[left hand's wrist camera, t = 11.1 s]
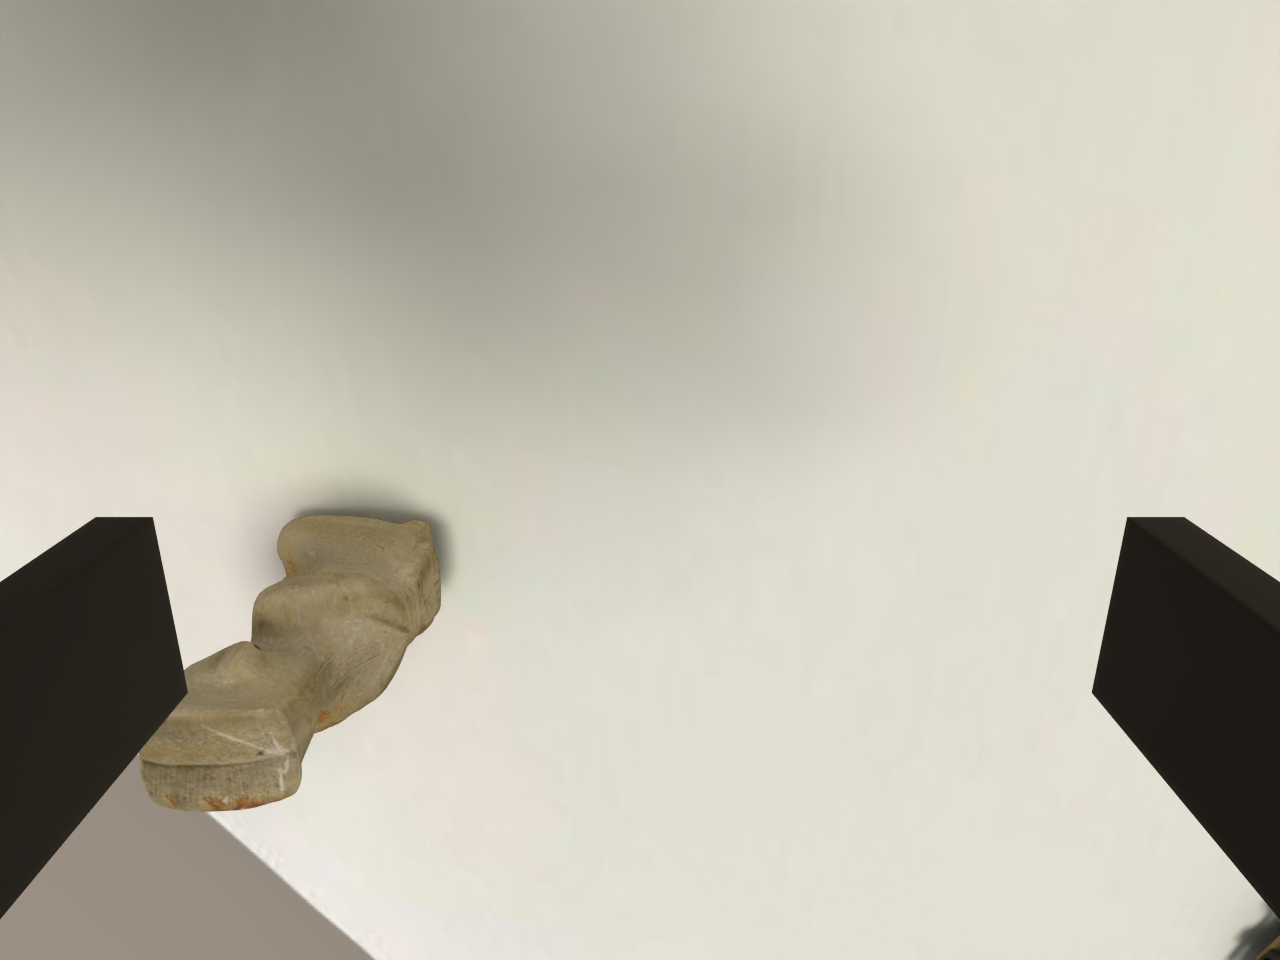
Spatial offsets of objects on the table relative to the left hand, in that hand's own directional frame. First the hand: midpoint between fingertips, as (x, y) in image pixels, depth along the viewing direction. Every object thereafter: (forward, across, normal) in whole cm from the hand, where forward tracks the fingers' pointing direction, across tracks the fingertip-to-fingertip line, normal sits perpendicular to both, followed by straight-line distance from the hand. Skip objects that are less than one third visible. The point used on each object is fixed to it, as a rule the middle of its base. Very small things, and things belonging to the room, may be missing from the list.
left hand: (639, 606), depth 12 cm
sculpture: (+26, +12, +11) cm, 31 cm away
